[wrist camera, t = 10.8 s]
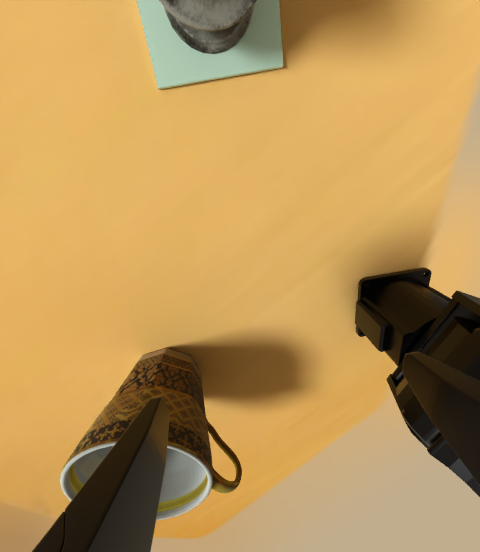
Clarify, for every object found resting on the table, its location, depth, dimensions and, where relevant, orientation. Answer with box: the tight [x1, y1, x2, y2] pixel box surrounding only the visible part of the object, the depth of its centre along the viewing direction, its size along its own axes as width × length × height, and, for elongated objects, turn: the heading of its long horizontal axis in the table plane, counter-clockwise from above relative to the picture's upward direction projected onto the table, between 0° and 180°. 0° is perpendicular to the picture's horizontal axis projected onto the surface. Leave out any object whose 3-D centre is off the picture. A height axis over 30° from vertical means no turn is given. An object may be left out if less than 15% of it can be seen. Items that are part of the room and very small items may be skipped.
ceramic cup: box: [60, 348, 242, 520], centre depth 21 cm, size 13×10×10 cm
